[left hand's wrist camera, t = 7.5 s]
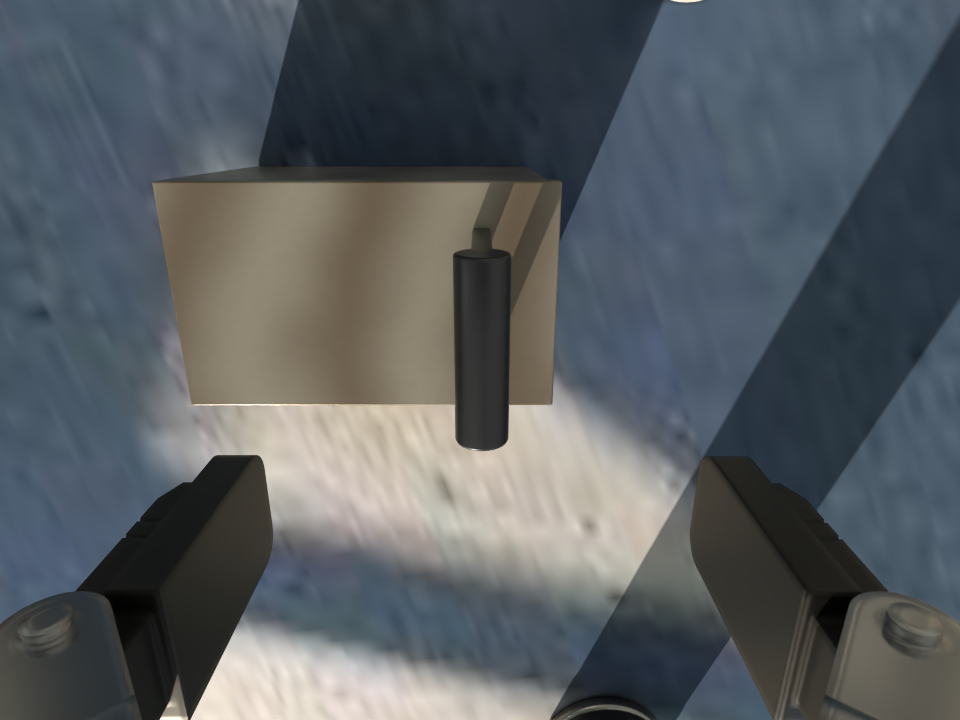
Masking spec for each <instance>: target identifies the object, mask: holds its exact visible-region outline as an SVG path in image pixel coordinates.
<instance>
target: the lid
mask: <svg viewBox="0 0 960 720" xmlns="http://www.w3.org/2000/svg"><path fill="white" fill-rule="evenodd" d="M152 184H153V190H154V195H155V201H156V206H157V212H158V218H159V223H160V229H161V234H162V240H163V246H164V251H165V257H166V262H167V268H168V274H169V279H170V285H171V291H172V296H173V302H174V307H175V313H176V319H177V324H178V330H179V335H180V341H181V347H182V352H183V358H184V363H185V369H186V375H187V380H188V386H189V391H190V397H191V403H192V405H455V434H456V441H457V442H458V444H459V445H461V446H462V447H464V448H467V449H470V450H475V451H489V450H494V449H497V448H500V447H502V446H503V445H505V444H506V442H507V440H508V423H509V405H552V399H553V376H554V354H555V332H556V309H557V287H558V265H559V242H560V220H561V197H562V182H561V181H559V180H159V181H153V182H152Z"/></svg>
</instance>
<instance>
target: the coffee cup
mask: <svg viewBox="0 0 960 720" xmlns="http://www.w3.org/2000/svg"><path fill="white" fill-rule="evenodd" d="M672 1H677V2H696V1H701V0H672Z"/></svg>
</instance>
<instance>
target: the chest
mask: <svg viewBox="0 0 960 720" xmlns="http://www.w3.org/2000/svg"><path fill="white" fill-rule="evenodd" d="M167 180H547V179H545V178H544V177H542V176H541V175H539V174H538V173H536V172H535V171H533V170H532V169H530V168H529V167H250V168H243V169H236V170H229V171H222V172H215V173H208V174H201V175H194V176H187V177H180V178H172V179H167Z"/></svg>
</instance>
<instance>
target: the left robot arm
mask: <svg viewBox="0 0 960 720" xmlns="http://www.w3.org/2000/svg"><path fill="white" fill-rule="evenodd" d="M690 542H691V550H692V555H693V559H694V562H695V564H696V567H697V569H698V571H699V573H700V575H701V577H702V579H703V581H704V583H705V585H706V587H707V589H708V591H709V593H710V595H711V597H712V599H713V601H714V603H715V605H716V607H717V609H718V610H719V612H720V614H721V616H722V618H723V620H724V622H725V624H726V626H727V628H728V630H729V632H730V634H731V636H732V638H733V640H734V642H735V644H736V646H737V648H738V650H739V652H740V654H741V656H742V658H743V660H744V662H745V664H746V666H747V668H748V670H749V672H750V674H751V676H752V678H753V680H754V682H755V684H756V686H757V688H758V690H759V692H760V694H761V696H762V698H763V700H764V702H765V704H766V706H767V708H768V710H769V712H770V714H771V716H772V718H773V720H960V624H959V623H958V622H957V621H956V620H954V619H953V618H952V617H950V616H949V615H947V614H946V613H944V612H942V611H941V610H939V609H937V608H935V607H933V606H931V605H929V604H927V603H925V602H923V601H920V600H918V599H915V598H912V597H909V596H906V595H902V594H897V593H892V592H889V591H888V590H887V589H886V588H885V587H884V586H883V585H882V584H881V583H880V581H879V580H878V579H877V578H876V577H875V576H874V575H873V574H872V572H871V571H870V570H869V569H868V568H867V567H866V566H865V565H864V564H863V562H862V561H861V560H860V559H859V558H858V557H857V556H856V555H855V553H854V552H853V551H852V550H851V549H850V548H849V547H848V546H847V545H846V543H845V542H844V541H843V540H839V538H838V534H837V533H836V532H835V531H834V530H833V529H832V528H831V527H830V526H829V524H828V523H824V519H823V518H822V517H821V515H820V514H819V513H818V512H817V511H816V510H815V509H814V508H813V507H812V505H811V504H810V503H809V502H808V501H807V500H806V499H804V498H803V497H801V496H799V495H798V494H796V493H795V492H793V491H791V490H790V489H788V488H787V487H785V486H783V485H782V484H772V483H771V482H770V481H769V480H768V478H767V477H766V476H765V475H764V474H763V472H762V471H761V470H760V469H759V468H758V466H757V465H756V464H755V463H754V462H753V460H752V459H751V458H749V457H747V456H706V457H704V458H703V459H702V461H701V463H700V466H699V472H698V479H697V486H696V493H695V500H694V507H693V514H692V522H691V529H690ZM272 543H273V527H272V519H271V512H270V505H269V497H268V490H267V483H266V476H265V469H264V464H263V461H262V459H261V457H260V456H258V455H217V456H214V457H213V458H212V459H211V460H210V461H209V463H208V464H207V465H206V466H205V467H204V469H203V470H202V471H201V472H200V473H199V475H198V476H197V477H196V478H195V480H194V481H193V482H183V483H182V484H180V485H179V486H177V487H175V488H174V489H172V490H171V491H169V492H167V493H166V494H164V495H163V496H161V497H159V498H158V499H157V500H156V501H155V502H154V503H153V504H152V505H151V507H150V508H149V509H148V510H147V511H146V512H145V513H144V514H143V516H142V517H141V518H140V522H136V523H135V525H134V526H133V527H132V528H131V529H130V530H129V531H128V532H127V534H126V538H122V539H121V540H120V541H119V543H118V544H117V545H116V546H115V547H114V548H113V549H112V551H111V552H110V553H109V554H108V555H107V556H106V557H105V558H104V560H103V561H102V562H101V563H100V564H99V565H98V566H97V567H96V569H95V570H94V571H93V572H92V573H91V574H90V575H89V576H88V578H87V579H86V580H85V581H84V582H83V583H82V584H81V585H80V587H79V588H78V589H77V590H76V591H75V592H68V593H63V594H58V595H54V596H51V597H48V598H45V599H42V600H40V601H37V602H35V603H33V604H31V605H29V606H27V607H25V608H23V609H21V610H19V611H18V612H16V613H14V614H13V615H11V616H10V617H8V618H7V619H6V620H4V621H3V622H2V623H1V624H0V720H190V719H191V717H192V715H193V713H194V711H195V709H196V707H197V705H198V703H199V701H200V699H201V697H202V695H203V693H204V691H205V689H206V687H207V685H208V683H209V681H210V679H211V677H212V675H213V673H214V671H215V669H216V667H217V665H218V663H219V661H220V659H221V657H222V655H223V653H224V651H225V649H226V647H227V645H228V643H229V641H230V639H231V637H232V635H233V632H234V630H235V628H236V626H237V624H238V622H239V620H240V618H241V616H242V614H243V612H244V610H245V608H246V606H247V604H248V602H249V600H250V598H251V596H252V594H253V592H254V590H255V588H256V586H257V584H258V582H259V580H260V578H261V576H262V574H263V572H264V570H265V568H266V566H267V564H268V561H269V558H270V555H271V550H272ZM553 720H656V719H655V718H654V717H653V716H652V714H651V713H650V712H648V711H647V710H646V709H645V708H643V707H641V706H640V705H638V704H636V703H633V702H631V701H628V700H624V699H619V698H608V697H604V698H593V699H588V700H584V701H581V702H578V703H575V704H573V705H571V706H569V707H567V708H566V709H564V710H563V711H561V712H560V713H559V714H557V715H556V716H555V717H554V718H553Z"/></svg>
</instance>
